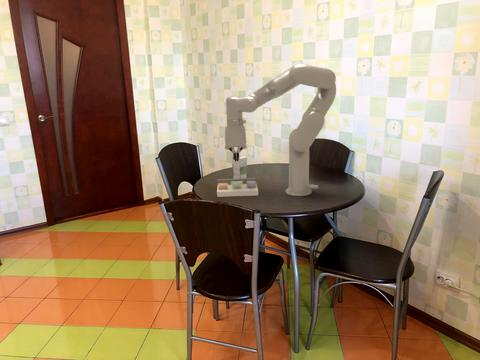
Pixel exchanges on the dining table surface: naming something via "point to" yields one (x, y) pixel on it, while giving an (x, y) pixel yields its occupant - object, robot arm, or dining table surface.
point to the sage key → (237, 183)
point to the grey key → (251, 183)
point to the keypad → (237, 188)
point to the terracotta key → (222, 185)
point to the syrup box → (239, 167)
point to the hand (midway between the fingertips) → (236, 160)
